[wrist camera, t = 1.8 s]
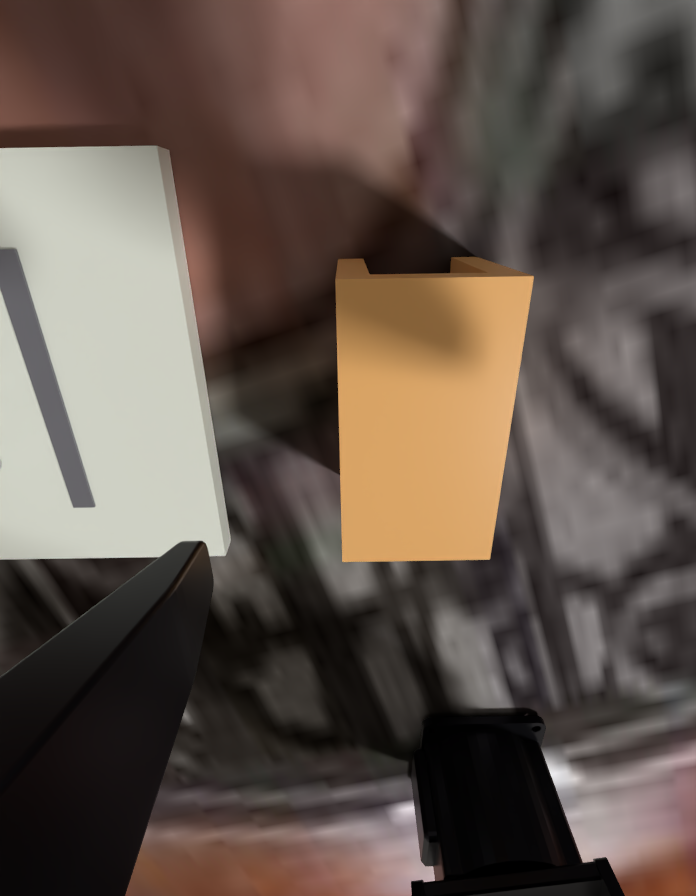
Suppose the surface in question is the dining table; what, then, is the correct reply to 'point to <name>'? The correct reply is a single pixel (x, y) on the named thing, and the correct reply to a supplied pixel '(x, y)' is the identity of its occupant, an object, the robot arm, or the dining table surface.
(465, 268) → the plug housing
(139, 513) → the board
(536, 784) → the robot arm
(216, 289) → the dining table surface
